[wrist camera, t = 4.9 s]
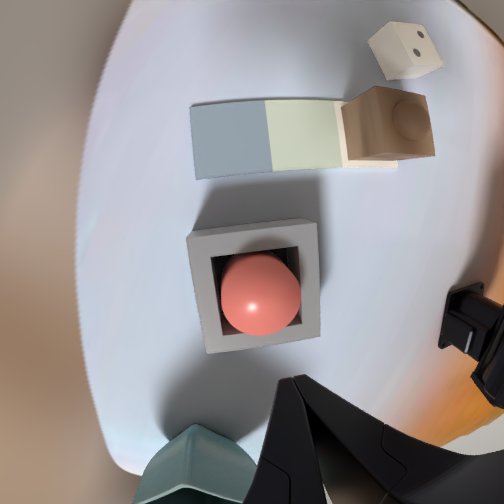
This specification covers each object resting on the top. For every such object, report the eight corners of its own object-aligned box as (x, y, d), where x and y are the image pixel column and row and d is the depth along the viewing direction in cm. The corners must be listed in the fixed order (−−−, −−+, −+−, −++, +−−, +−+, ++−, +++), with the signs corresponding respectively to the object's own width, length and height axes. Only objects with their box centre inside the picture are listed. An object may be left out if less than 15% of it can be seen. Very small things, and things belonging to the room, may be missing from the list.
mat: (387, 107, 17) (389, 106, 17) (396, 167, 19) (398, 167, 18) (189, 108, 16) (189, 107, 16) (196, 179, 17) (196, 179, 17)
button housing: (301, 217, 19) (316, 222, 15) (306, 316, 20) (320, 336, 17) (191, 230, 18) (185, 238, 15) (208, 330, 20) (206, 353, 16)
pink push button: (284, 243, 18) (298, 256, 15) (288, 305, 19) (302, 328, 16) (217, 252, 18) (216, 266, 14) (225, 314, 19) (227, 340, 15)
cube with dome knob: (385, 111, 17) (439, 90, 11) (392, 161, 18) (451, 154, 12) (340, 107, 17) (388, 77, 11) (348, 160, 18) (402, 149, 11)
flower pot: (190, 401, 21) (183, 484, 12) (263, 438, 23) (278, 509, 14) (143, 439, 22) (129, 506, 13) (210, 470, 24) (212, 532, 15)
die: (398, 41, 16) (423, 23, 12) (417, 78, 17) (446, 64, 13) (366, 41, 16) (390, 20, 12) (386, 80, 17) (415, 64, 13)
